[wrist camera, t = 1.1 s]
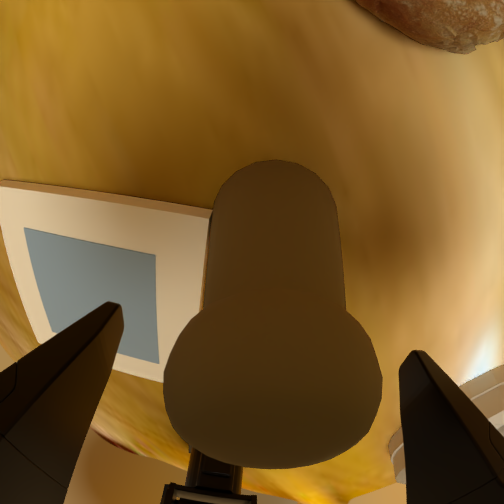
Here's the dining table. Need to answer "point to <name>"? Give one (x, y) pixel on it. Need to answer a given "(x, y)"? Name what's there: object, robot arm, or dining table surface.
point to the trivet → (107, 264)
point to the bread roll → (443, 21)
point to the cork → (273, 331)
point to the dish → (481, 394)
